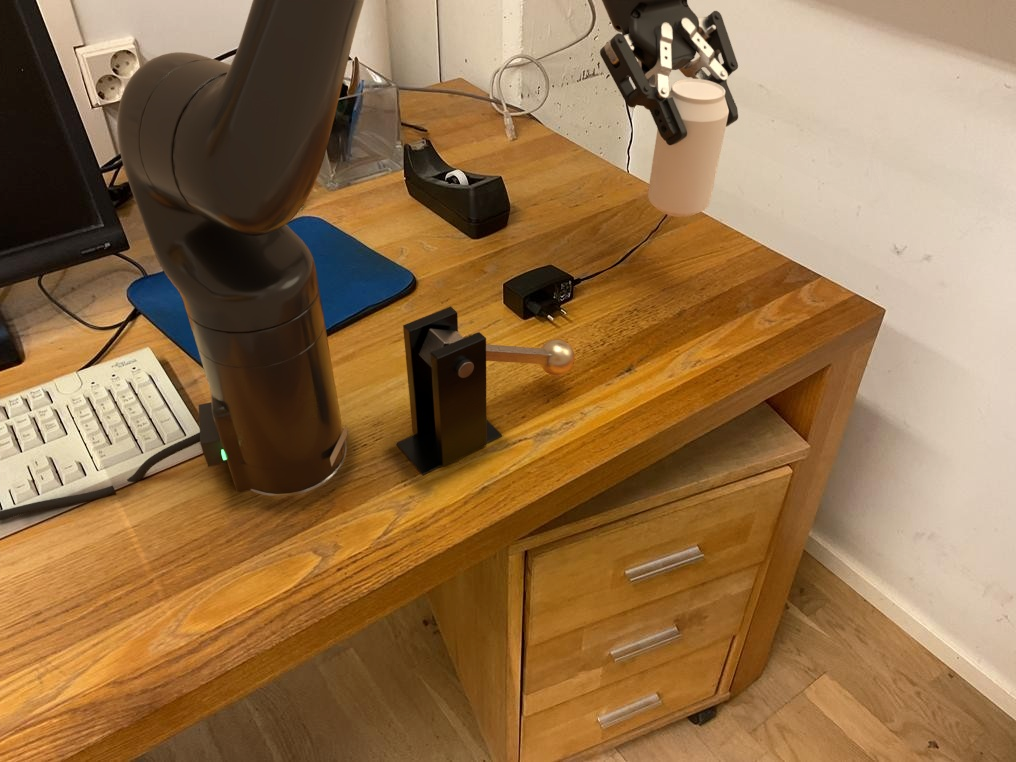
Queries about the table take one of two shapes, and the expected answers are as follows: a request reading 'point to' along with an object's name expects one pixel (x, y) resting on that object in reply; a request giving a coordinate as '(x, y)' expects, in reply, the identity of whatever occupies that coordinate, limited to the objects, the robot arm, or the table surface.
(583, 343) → the table surface
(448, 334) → the lever
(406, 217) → the table surface
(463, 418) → the bracket
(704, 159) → the beverage can
